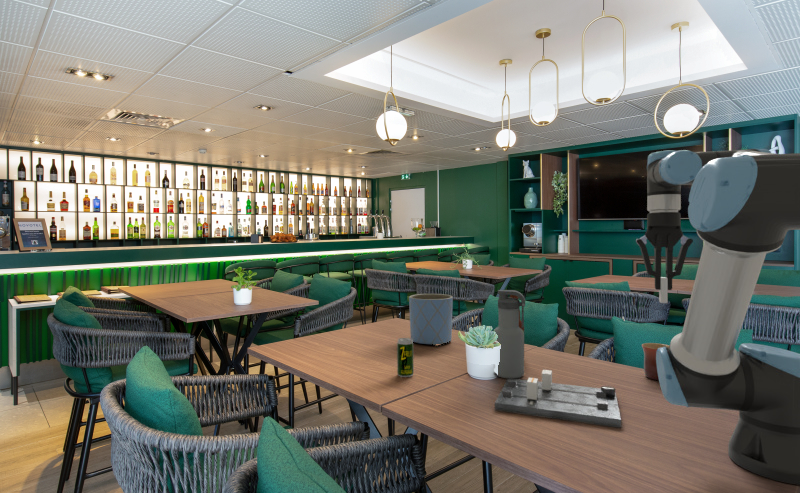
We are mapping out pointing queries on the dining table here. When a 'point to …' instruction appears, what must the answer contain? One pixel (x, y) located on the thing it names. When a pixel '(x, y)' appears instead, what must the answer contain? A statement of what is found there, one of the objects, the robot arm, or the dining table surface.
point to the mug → (651, 359)
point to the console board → (562, 402)
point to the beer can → (405, 357)
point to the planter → (431, 318)
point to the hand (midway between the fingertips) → (663, 302)
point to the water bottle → (510, 335)
